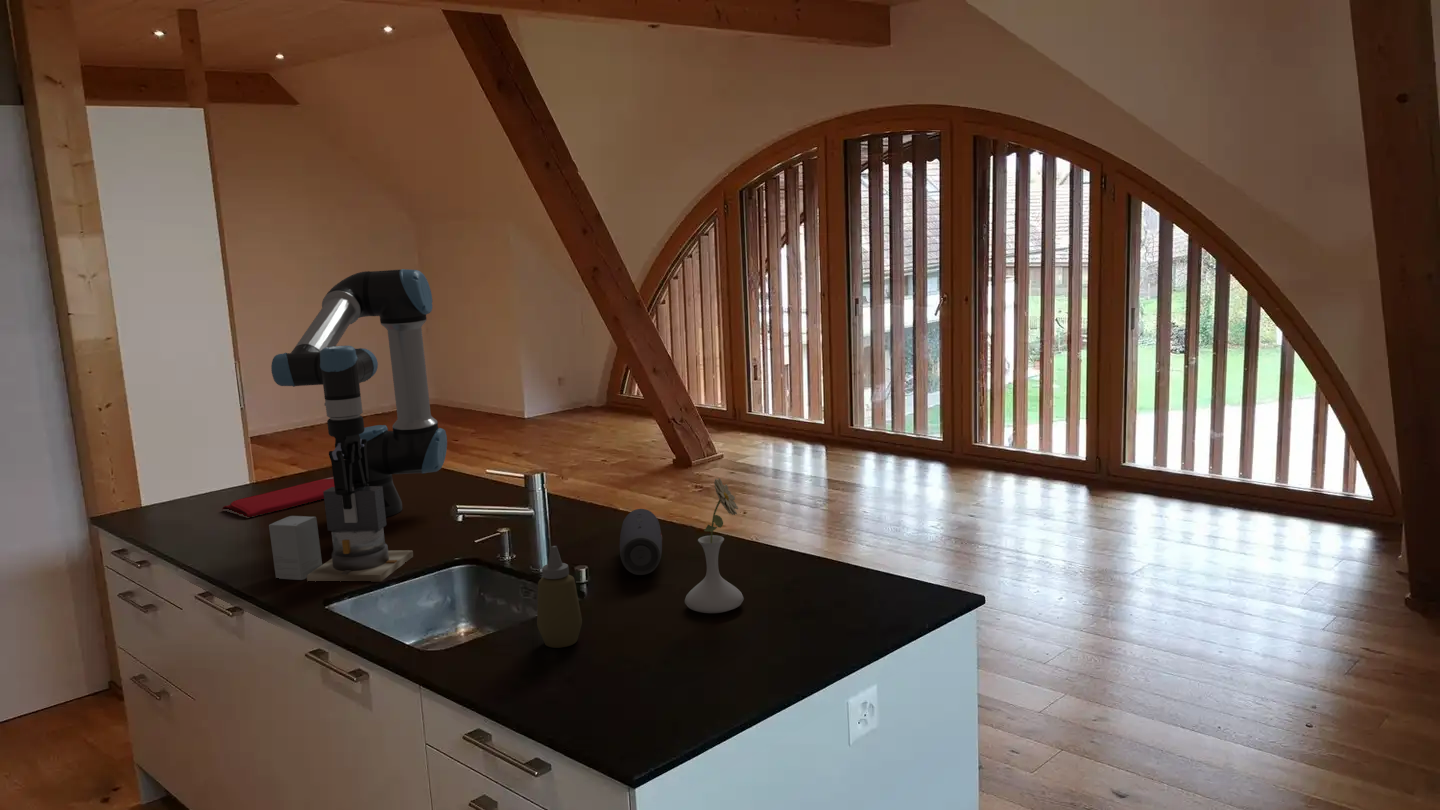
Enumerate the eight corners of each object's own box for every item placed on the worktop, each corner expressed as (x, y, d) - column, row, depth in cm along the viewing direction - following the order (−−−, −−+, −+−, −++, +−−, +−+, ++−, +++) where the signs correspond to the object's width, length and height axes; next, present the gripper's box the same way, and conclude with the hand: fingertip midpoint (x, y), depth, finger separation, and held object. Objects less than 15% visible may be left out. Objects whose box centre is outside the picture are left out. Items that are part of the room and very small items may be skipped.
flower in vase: (724, 622, 198) (717, 492, 194) (673, 613, 204) (666, 486, 200) (759, 599, 209) (753, 476, 205) (710, 591, 215) (703, 471, 211)
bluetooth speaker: (664, 579, 224) (662, 533, 222) (620, 582, 223) (617, 536, 222) (662, 546, 246) (660, 504, 245) (622, 549, 246) (619, 507, 244)
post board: (344, 556, 250) (342, 538, 249) (413, 556, 248) (411, 537, 247) (307, 581, 234) (305, 562, 233) (381, 581, 231) (378, 561, 230)
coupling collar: (346, 541, 246) (339, 483, 244) (395, 541, 244) (389, 482, 242) (320, 558, 235) (313, 496, 232) (372, 558, 233) (365, 495, 230)
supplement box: (324, 570, 241) (317, 516, 239) (301, 581, 234) (294, 525, 232) (297, 568, 244) (291, 514, 241) (274, 578, 237) (267, 524, 234)
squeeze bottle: (540, 635, 196) (532, 541, 193) (584, 632, 197) (577, 538, 194) (536, 653, 188) (528, 555, 185) (582, 649, 189) (575, 552, 186)
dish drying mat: (222, 512, 298) (220, 500, 298) (354, 481, 329) (353, 469, 328) (248, 521, 288) (246, 507, 287) (382, 487, 318) (381, 475, 318)
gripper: (347, 409, 243) (358, 508, 248) (309, 424, 227) (321, 530, 231) (378, 409, 242) (388, 508, 246) (342, 423, 226) (354, 530, 230)
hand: (356, 519), depth 239 cm, fingers closed on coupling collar, 4 cm apart
